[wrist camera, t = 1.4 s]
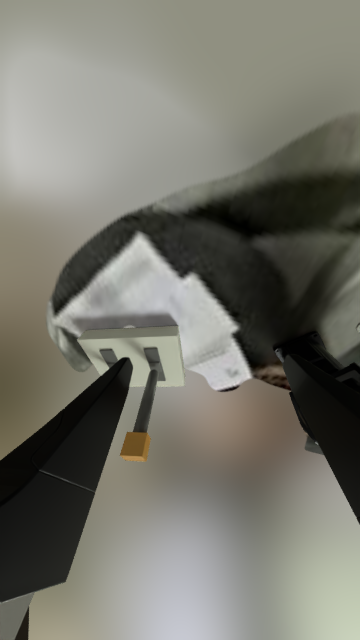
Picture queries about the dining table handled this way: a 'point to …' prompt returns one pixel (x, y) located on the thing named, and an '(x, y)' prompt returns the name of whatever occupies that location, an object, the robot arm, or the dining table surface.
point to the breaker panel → (138, 352)
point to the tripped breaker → (141, 424)
